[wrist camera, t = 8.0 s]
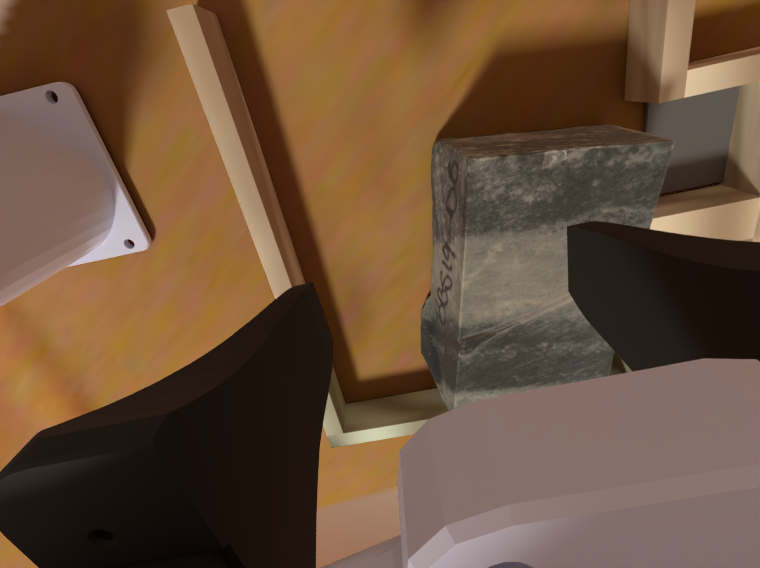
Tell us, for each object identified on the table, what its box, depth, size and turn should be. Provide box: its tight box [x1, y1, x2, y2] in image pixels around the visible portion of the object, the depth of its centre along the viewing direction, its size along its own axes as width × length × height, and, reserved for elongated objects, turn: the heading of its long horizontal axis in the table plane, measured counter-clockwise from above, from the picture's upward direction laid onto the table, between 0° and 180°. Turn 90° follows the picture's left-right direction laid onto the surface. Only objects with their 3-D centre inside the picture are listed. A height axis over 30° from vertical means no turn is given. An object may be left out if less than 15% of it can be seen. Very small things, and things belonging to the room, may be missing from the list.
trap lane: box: [166, 0, 760, 448], centre depth 20 cm, size 24×23×2 cm
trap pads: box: [644, 86, 740, 194], centre depth 21 cm, size 4×12×1 cm, turn 12°
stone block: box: [421, 124, 675, 411], centre depth 20 cm, size 9×14×5 cm, turn 3°
